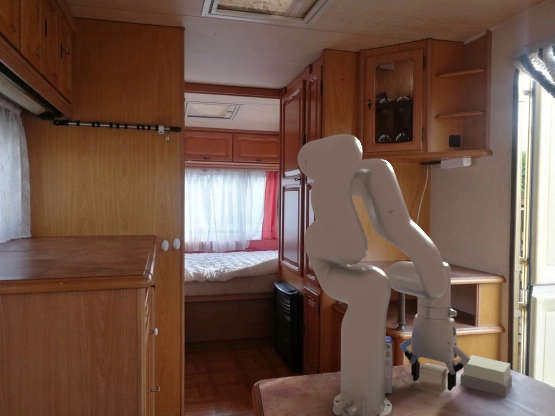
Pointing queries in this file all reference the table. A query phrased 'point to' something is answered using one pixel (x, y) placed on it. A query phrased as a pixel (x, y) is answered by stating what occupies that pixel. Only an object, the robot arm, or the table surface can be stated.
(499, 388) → the tower base block
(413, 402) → the table surface
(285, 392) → the table surface
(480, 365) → the tower top block
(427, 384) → the birch cube
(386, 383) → the ink cartridge box
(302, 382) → the table surface
